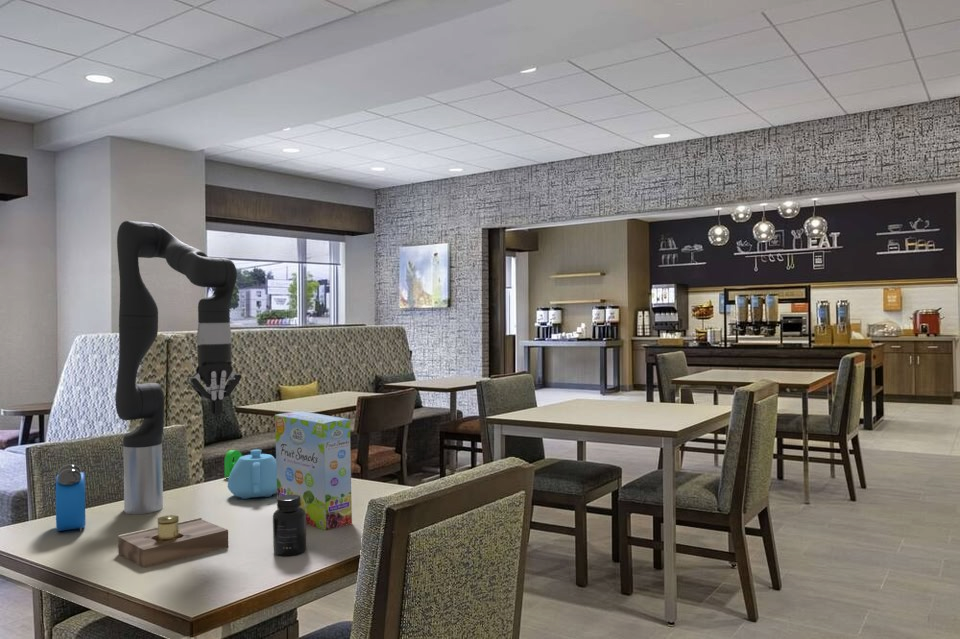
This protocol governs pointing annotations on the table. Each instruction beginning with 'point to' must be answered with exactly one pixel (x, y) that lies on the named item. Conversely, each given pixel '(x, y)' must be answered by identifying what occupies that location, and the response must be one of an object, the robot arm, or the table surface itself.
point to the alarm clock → (70, 498)
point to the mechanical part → (229, 463)
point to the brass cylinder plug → (168, 528)
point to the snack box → (315, 466)
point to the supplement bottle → (289, 527)
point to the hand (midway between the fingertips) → (215, 415)
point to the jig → (172, 543)
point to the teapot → (254, 476)
